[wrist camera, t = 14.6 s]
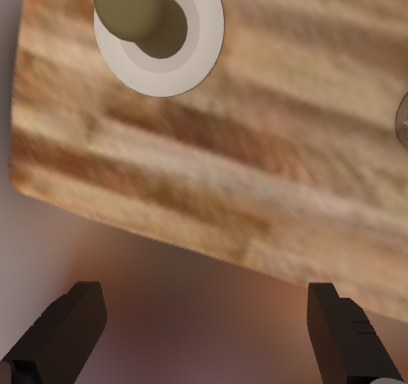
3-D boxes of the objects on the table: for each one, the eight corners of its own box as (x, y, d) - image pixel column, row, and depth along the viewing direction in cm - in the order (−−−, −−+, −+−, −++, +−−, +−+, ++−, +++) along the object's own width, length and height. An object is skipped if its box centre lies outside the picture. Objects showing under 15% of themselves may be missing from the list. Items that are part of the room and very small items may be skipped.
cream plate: (218, -60, 28) (217, -66, 27) (228, 90, 33) (228, 90, 32) (85, -38, 30) (80, -42, 29) (112, 102, 34) (109, 102, 33)
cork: (124, 5, 30) (65, -40, 19) (178, -14, 29) (148, -72, 18) (142, 65, 32) (97, 54, 21) (194, 50, 31) (174, 30, 20)
